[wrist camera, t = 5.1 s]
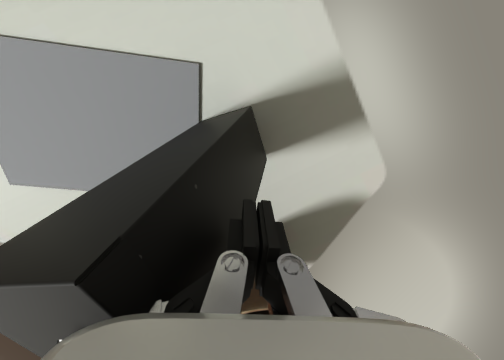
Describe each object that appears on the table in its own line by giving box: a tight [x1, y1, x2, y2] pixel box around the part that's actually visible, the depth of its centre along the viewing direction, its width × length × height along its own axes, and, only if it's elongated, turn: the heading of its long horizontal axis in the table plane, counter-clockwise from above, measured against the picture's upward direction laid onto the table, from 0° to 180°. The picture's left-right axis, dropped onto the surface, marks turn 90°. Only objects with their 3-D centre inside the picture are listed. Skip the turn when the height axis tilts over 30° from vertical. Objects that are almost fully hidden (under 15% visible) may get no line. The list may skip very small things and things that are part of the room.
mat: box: [0, 36, 199, 191], centre depth 28 cm, size 20×29×1 cm
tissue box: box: [0, 106, 267, 358], centre depth 17 cm, size 8×8×28 cm
